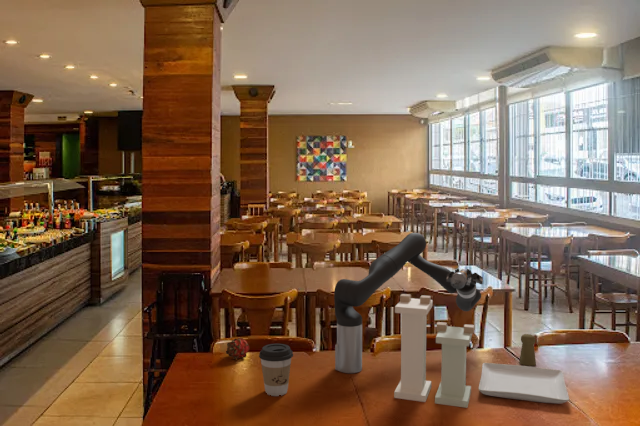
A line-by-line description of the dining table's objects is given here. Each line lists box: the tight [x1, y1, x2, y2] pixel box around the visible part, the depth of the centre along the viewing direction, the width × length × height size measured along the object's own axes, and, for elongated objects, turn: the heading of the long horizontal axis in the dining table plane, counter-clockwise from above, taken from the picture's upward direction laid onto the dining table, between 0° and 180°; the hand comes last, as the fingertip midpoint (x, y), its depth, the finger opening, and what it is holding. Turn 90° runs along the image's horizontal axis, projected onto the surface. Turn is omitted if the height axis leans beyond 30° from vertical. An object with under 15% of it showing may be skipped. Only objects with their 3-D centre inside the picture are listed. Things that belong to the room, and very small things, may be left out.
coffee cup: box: [258, 343, 294, 397], centre depth 187 cm, size 11×11×15 cm
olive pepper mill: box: [518, 333, 537, 367], centre depth 213 cm, size 6×6×11 cm
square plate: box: [478, 362, 570, 405], centre depth 190 cm, size 27×27×4 cm
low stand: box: [434, 321, 475, 409], centre depth 182 cm, size 12×13×24 cm
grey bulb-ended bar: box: [450, 268, 467, 289], centre depth 197 cm, size 20×5×5 cm, turn 161°
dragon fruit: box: [225, 337, 250, 360], centre depth 221 cm, size 8×8×12 cm
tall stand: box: [393, 293, 434, 403], centre depth 185 cm, size 10×13×32 cm
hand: (462, 271), depth 203 cm, fingers closed on grey bulb-ended bar, 3 cm apart
